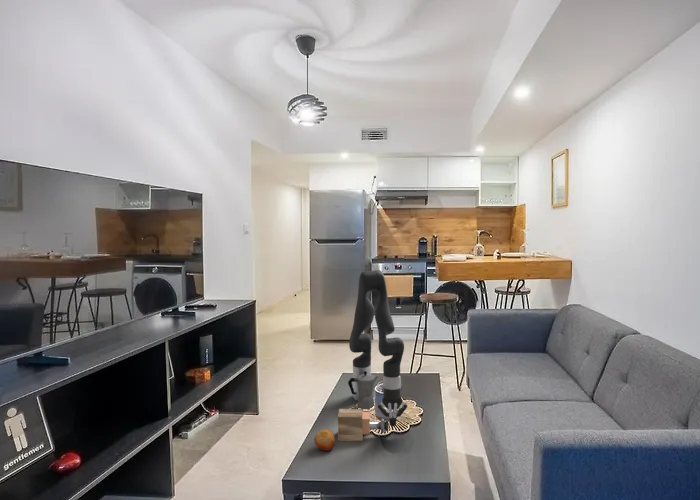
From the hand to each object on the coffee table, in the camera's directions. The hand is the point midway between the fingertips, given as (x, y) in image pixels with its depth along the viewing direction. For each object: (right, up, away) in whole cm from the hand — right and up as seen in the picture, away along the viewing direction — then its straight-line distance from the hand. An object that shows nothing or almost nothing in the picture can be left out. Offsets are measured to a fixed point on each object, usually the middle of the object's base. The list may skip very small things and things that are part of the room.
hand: (392, 425), depth 182 cm
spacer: (-11, -2, +1) cm, 11 cm away
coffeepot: (-11, -3, +29) cm, 31 cm away
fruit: (-28, -6, -8) cm, 30 cm away
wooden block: (-18, -5, +1) cm, 18 cm away
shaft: (-11, -3, +1) cm, 11 cm away
